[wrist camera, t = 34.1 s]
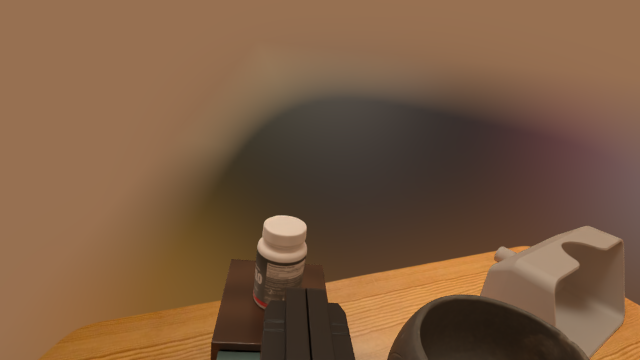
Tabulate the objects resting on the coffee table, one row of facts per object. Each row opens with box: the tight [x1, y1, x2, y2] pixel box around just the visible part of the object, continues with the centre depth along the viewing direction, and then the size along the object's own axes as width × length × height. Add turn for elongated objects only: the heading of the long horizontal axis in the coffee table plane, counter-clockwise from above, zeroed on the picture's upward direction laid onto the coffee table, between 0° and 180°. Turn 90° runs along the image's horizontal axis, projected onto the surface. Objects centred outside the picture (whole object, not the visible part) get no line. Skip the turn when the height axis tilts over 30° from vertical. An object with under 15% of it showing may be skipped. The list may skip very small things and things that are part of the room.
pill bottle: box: [253, 216, 307, 309], centre depth 37 cm, size 5×5×8 cm
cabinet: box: [211, 259, 328, 360], centre depth 40 cm, size 13×11×10 cm
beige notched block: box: [480, 226, 625, 359], centre depth 55 cm, size 25×16×12 cm, turn 126°
